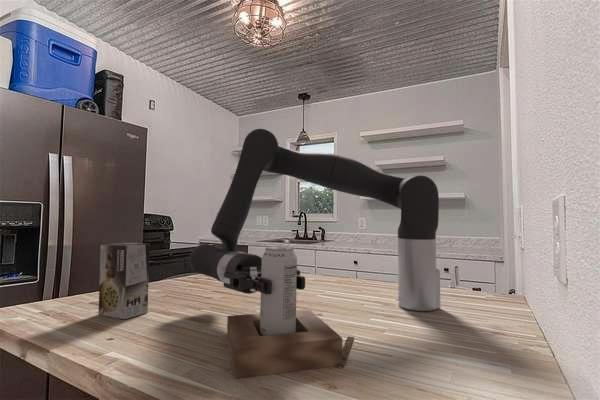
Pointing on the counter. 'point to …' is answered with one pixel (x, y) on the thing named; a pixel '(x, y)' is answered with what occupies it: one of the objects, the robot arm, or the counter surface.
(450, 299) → the counter surface
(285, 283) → the energy drink can
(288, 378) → the counter surface
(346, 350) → the brown wooden stick
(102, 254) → the coffee box
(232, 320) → the socket block
